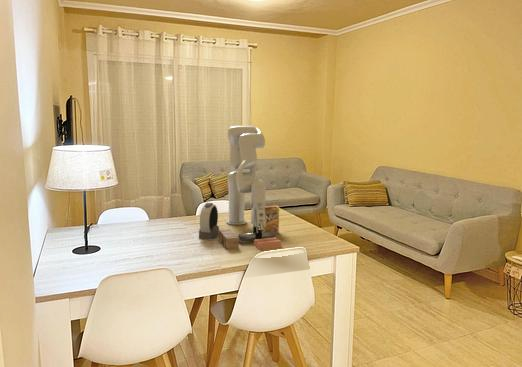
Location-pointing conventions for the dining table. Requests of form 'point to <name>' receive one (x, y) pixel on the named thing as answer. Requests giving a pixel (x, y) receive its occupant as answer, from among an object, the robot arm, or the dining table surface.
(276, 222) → the candy box
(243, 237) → the axle
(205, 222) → the alarm clock
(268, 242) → the v block
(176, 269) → the dining table surface
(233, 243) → the beam
